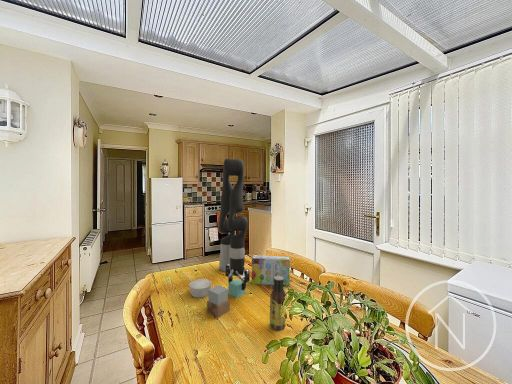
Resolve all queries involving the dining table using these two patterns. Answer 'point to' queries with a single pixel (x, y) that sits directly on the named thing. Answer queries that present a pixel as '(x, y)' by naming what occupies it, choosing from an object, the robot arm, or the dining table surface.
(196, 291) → the ramekin
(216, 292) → the block
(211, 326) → the dining table surface
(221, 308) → the tower base
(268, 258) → the snack box
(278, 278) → the sauce bottle
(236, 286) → the teal cube
